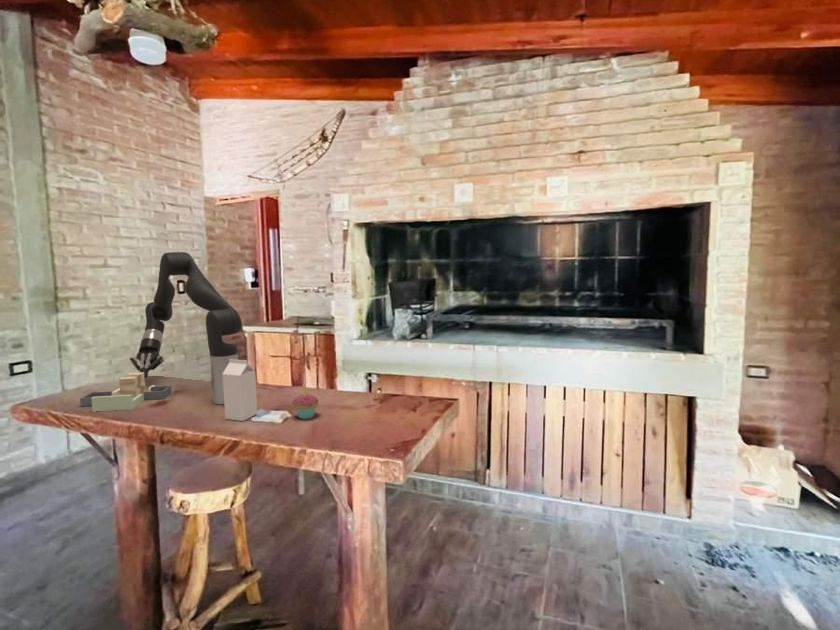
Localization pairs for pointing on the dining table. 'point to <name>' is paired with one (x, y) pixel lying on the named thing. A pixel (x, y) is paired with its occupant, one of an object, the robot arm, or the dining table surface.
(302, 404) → the cupcake
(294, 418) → the dining table surface
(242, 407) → the milk carton
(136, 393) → the beech block
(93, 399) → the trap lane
